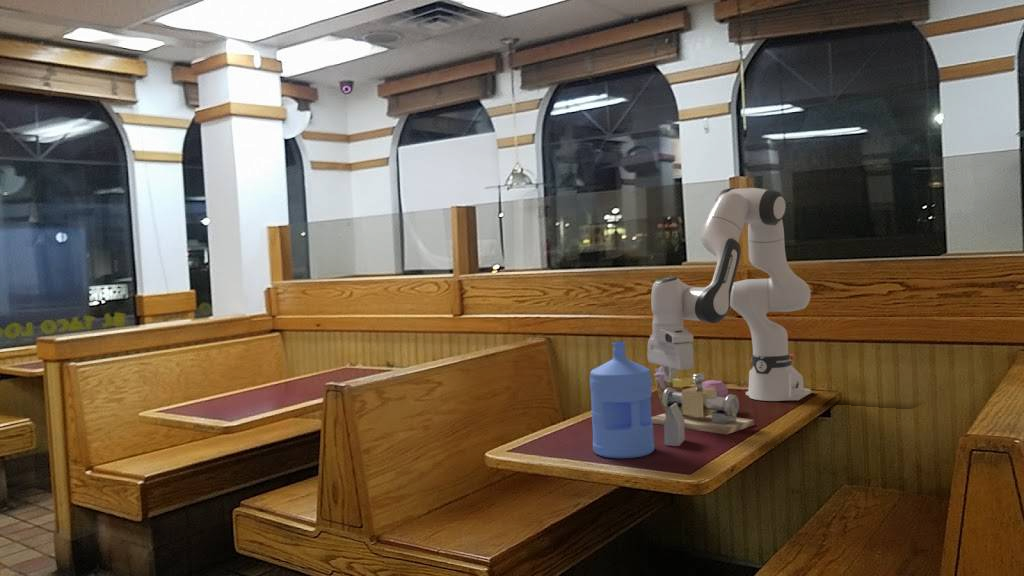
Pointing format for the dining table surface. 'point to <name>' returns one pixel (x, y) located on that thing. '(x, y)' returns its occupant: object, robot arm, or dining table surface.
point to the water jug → (621, 407)
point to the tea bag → (674, 427)
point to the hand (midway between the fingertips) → (670, 381)
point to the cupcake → (717, 387)
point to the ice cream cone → (661, 383)
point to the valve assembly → (704, 410)
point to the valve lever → (688, 380)
